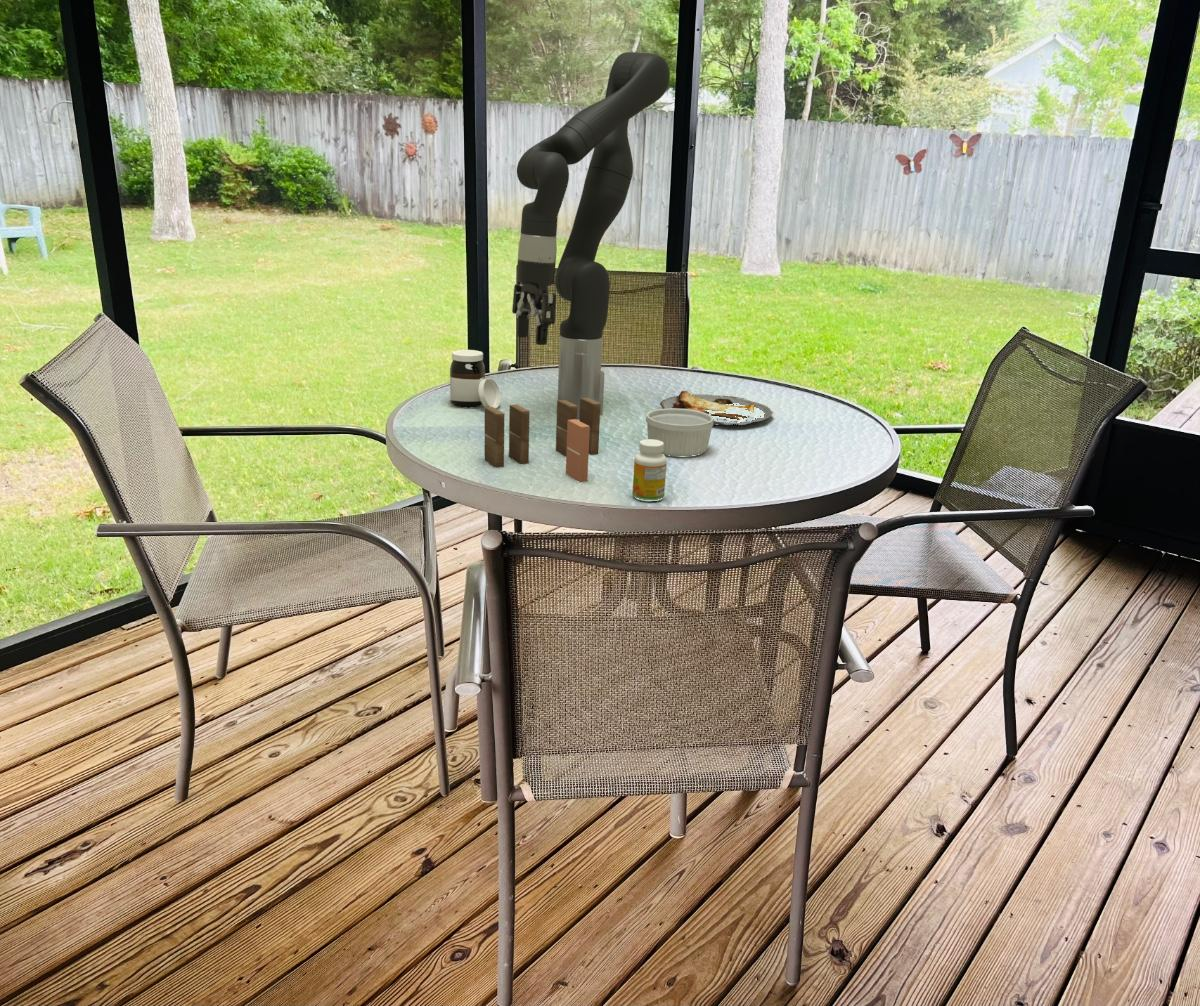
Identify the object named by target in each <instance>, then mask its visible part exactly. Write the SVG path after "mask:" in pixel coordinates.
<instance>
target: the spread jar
mask: <svg viewBox="0 0 1200 1006" xmlns="http://www.w3.org/2000/svg"><path fill="white" fill-rule="evenodd" d="M451 359H452V361H451V363H450V368H449V392H450V394H449V396H450V398H449V399H450V403H451V405H453V406H454V407H457V408H463V407H467V408H466V409H471V408H470V407H474V408H480V407H481V406H483V407H484V409H485V408H486V407H494V408H496V409H498V407H499V406H500V403H501V396H502V395H501V392H500V387H499V385H498V383H497V382H496V381H495V380H494V379H493V378H491V377H488V378H486V368H485V367H486V366H485V364H484V353H483V351H479V350H477V349H476V350H475V349H459V350H453V351H452V353H451ZM479 406H480V407H479Z"/></svg>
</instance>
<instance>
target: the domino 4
mask: <svg viewBox="0 0 1200 1006" xmlns="http://www.w3.org/2000/svg"><path fill="white" fill-rule="evenodd" d="M589 432H590V426H588V425H586V424H584V423H582V422H580V421H579V419H577V420H576V419H572V420H568V422H567V451H566V458H565V475H566V476H568V477H570V478H572V479H574V480H575V481H577V482H578V481H579V483H583V481H584V482H588V477H589V476H588V475H589V473H588V471H589V455H590V454H589Z"/></svg>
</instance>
